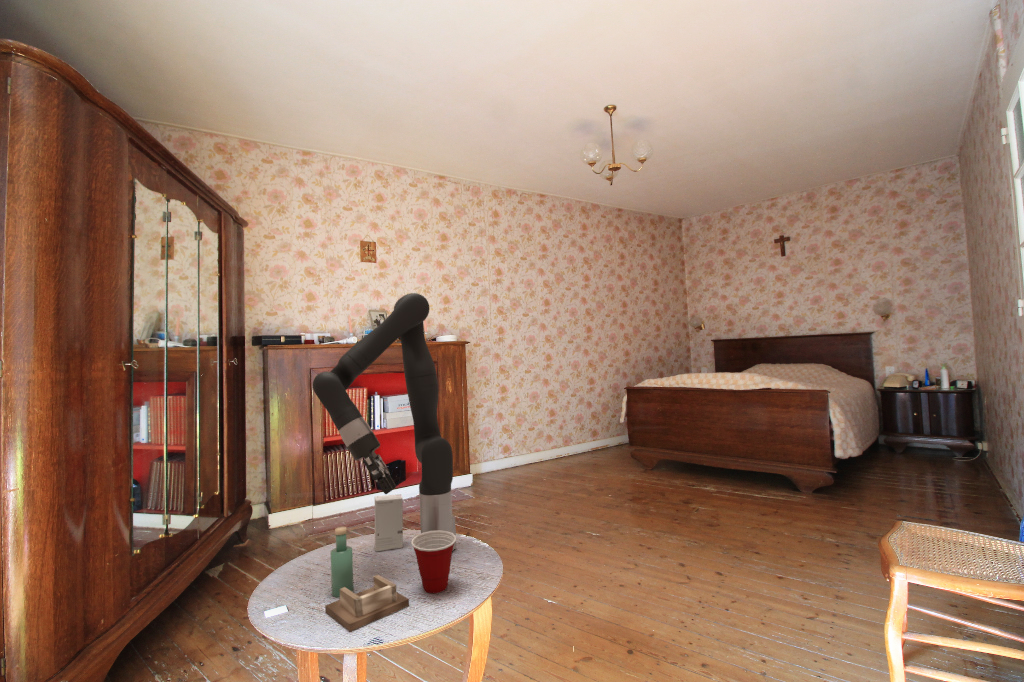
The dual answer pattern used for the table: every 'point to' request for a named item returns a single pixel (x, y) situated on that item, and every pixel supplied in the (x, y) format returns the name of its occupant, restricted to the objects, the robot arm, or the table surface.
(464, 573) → the table surface
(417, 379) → the robot arm
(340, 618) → the bottle cradle
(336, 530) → the green bottle
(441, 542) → the plastic cup
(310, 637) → the table surface
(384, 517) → the skincare box
